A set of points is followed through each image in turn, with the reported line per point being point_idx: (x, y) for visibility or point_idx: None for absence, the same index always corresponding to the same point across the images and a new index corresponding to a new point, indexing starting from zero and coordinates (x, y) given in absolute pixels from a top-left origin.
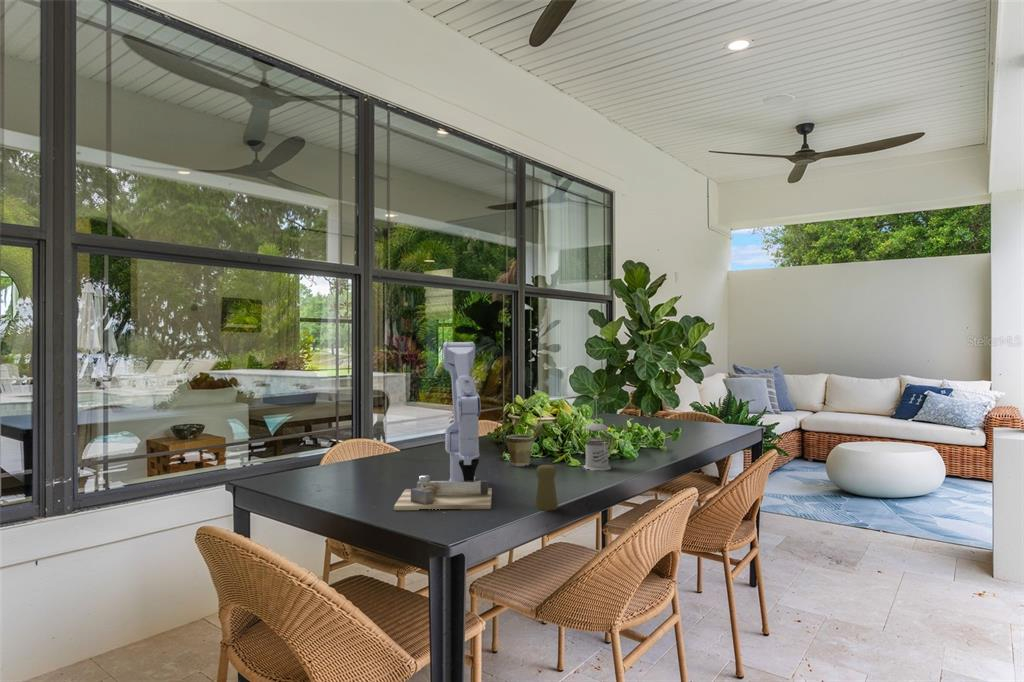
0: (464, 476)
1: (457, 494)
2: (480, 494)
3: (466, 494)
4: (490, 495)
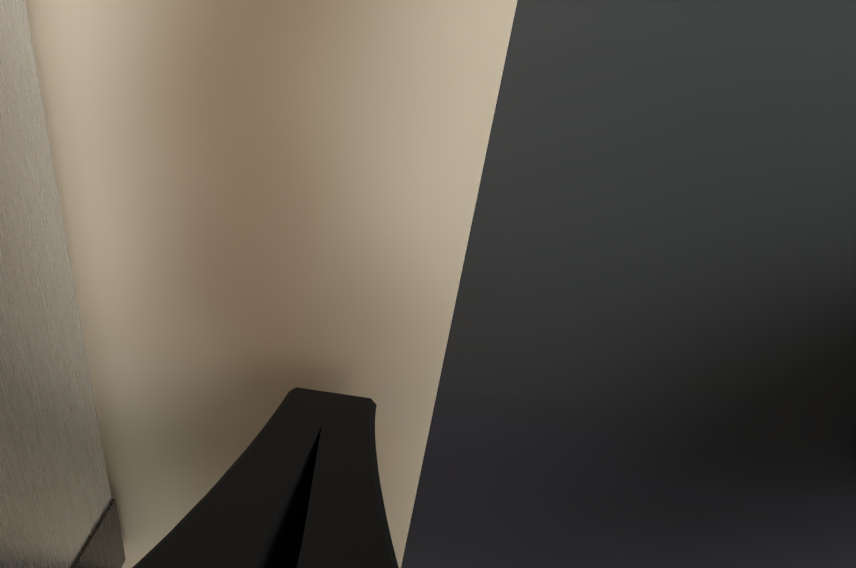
0: (196, 527)
1: None
2: None
3: None
4: None
